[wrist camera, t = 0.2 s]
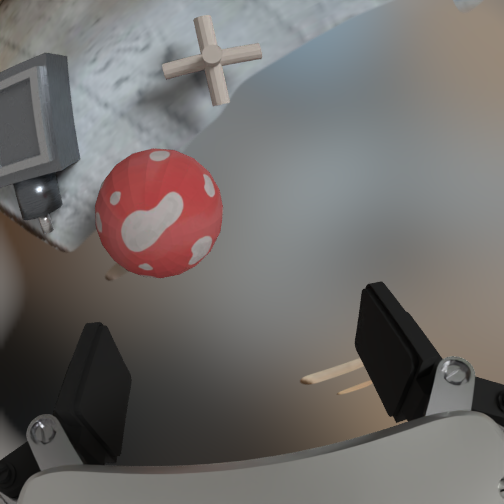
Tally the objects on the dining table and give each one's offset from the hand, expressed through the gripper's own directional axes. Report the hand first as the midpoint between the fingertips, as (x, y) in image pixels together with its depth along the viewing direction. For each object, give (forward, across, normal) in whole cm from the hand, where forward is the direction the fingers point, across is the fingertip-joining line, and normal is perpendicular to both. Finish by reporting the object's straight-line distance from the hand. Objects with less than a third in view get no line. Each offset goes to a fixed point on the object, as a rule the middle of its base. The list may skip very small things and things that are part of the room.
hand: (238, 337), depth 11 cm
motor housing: (+31, +23, -6) cm, 39 cm away
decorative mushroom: (+31, +7, +3) cm, 32 cm away
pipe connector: (+31, -1, -12) cm, 33 cm away
